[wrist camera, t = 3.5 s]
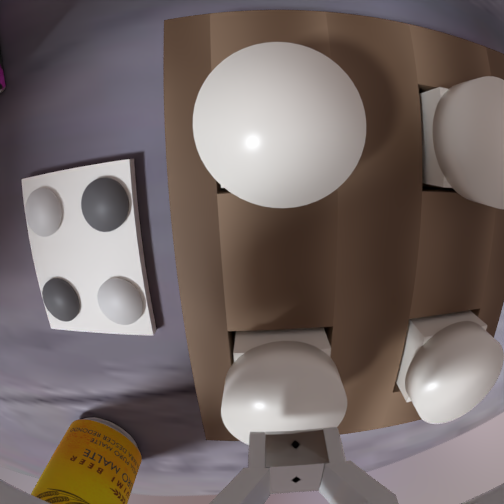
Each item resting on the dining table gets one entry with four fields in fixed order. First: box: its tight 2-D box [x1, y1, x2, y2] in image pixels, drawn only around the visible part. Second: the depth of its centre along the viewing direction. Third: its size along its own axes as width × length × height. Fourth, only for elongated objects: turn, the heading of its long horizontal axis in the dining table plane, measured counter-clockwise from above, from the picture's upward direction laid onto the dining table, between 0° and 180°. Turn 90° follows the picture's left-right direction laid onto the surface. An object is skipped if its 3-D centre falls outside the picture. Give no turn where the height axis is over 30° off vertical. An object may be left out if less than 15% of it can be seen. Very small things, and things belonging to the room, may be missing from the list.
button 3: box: [395, 310, 504, 424], centre depth 13 cm, size 5×5×4 cm
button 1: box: [221, 327, 347, 445], centre depth 13 cm, size 5×5×4 cm
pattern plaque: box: [21, 159, 156, 335], centre depth 15 cm, size 7×9×1 cm
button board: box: [164, 10, 504, 441], centre depth 13 cm, size 16×20×3 cm
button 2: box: [193, 42, 366, 208], centre depth 10 cm, size 5×5×4 cm
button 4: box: [419, 76, 504, 209], centre depth 10 cm, size 5×5×4 cm
